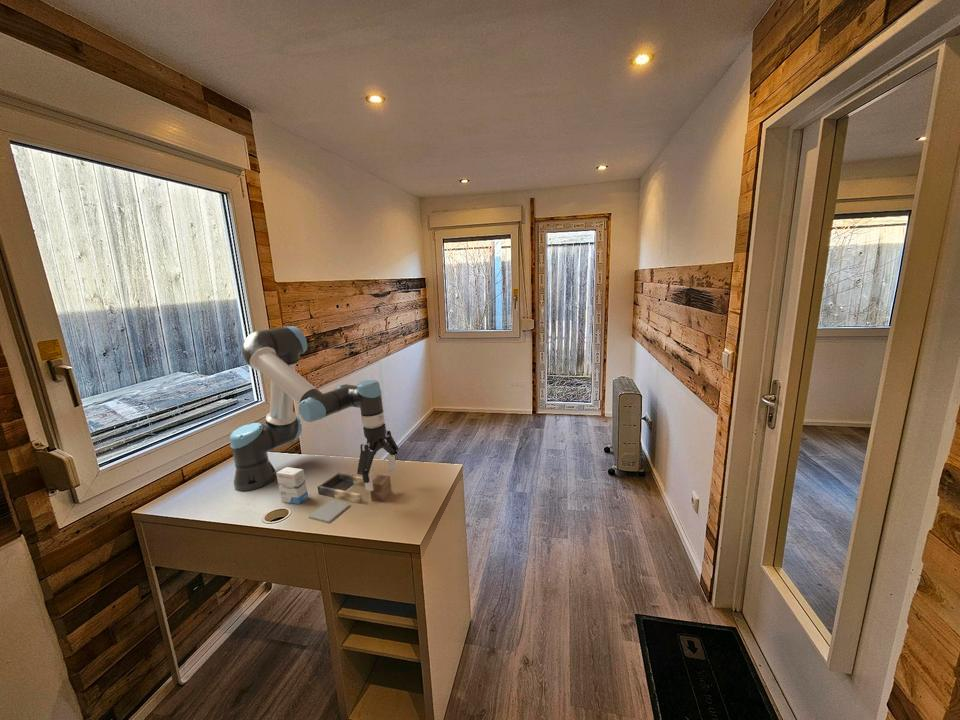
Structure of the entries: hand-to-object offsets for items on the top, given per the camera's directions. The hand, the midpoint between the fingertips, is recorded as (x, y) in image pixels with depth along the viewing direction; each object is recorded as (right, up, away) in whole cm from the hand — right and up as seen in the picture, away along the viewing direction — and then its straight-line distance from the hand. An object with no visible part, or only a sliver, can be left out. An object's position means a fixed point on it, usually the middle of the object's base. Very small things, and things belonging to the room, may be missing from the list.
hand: (381, 480), depth 136 cm
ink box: (-33, -9, +4) cm, 35 cm away
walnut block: (-1, -7, +2) cm, 7 cm away
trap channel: (-15, -7, +8) cm, 18 cm away
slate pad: (-17, -9, -5) cm, 20 cm away
